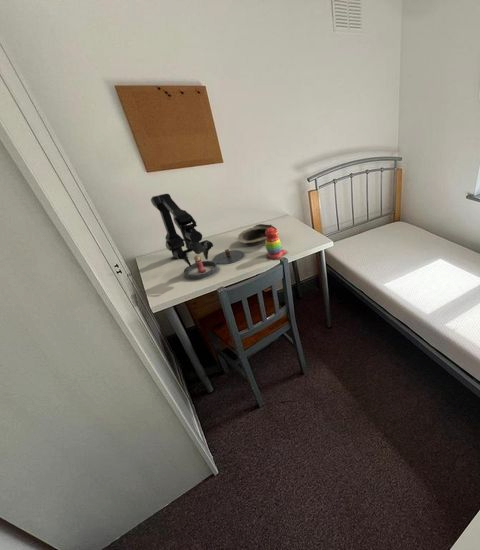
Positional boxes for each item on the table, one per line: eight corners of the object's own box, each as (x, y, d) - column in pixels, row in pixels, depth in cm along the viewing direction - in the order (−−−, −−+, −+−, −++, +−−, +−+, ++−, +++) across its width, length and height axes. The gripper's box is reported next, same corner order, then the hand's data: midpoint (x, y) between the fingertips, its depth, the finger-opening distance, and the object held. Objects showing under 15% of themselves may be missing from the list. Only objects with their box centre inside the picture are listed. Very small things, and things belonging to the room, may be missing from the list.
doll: (199, 270, 165) (194, 254, 160) (206, 269, 165) (201, 254, 160) (196, 273, 162) (190, 257, 157) (204, 273, 162) (198, 257, 157)
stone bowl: (283, 236, 205) (281, 224, 200) (266, 254, 186) (263, 241, 180) (252, 232, 210) (249, 221, 205) (232, 250, 190) (228, 237, 185)
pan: (193, 266, 170) (191, 261, 169) (222, 264, 172) (220, 260, 170) (180, 281, 156) (178, 276, 155) (212, 279, 157) (210, 274, 156)
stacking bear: (279, 259, 176) (274, 232, 166) (264, 258, 177) (258, 231, 168) (287, 251, 185) (282, 225, 175) (272, 250, 186) (267, 224, 177)
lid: (219, 252, 185) (216, 244, 182) (247, 251, 186) (245, 243, 183) (209, 266, 170) (206, 257, 167) (239, 264, 171) (237, 255, 168)
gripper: (179, 247, 142) (189, 274, 150) (214, 234, 155) (222, 260, 163) (168, 241, 148) (178, 268, 156) (203, 230, 161) (211, 255, 169)
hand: (198, 262), depth 161 cm, fingers open, 9 cm apart
